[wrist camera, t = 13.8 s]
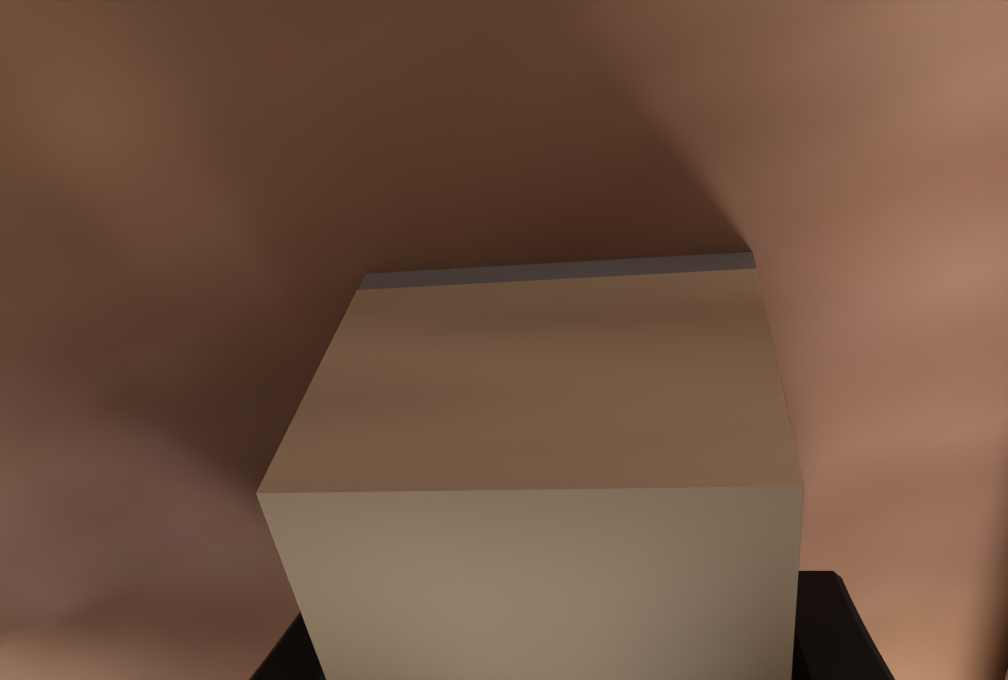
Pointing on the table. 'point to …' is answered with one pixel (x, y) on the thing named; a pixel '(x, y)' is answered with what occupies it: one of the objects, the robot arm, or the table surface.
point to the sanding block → (546, 477)
